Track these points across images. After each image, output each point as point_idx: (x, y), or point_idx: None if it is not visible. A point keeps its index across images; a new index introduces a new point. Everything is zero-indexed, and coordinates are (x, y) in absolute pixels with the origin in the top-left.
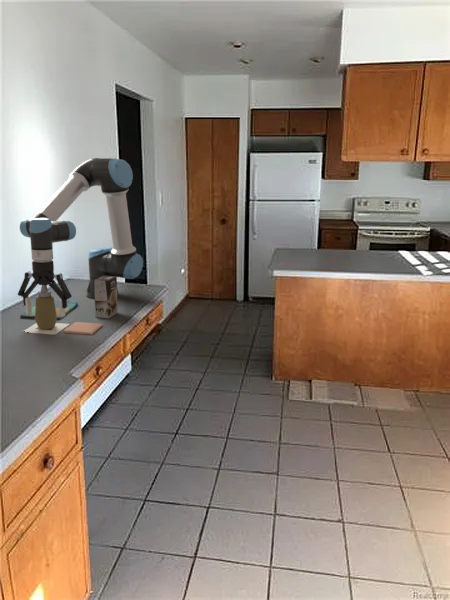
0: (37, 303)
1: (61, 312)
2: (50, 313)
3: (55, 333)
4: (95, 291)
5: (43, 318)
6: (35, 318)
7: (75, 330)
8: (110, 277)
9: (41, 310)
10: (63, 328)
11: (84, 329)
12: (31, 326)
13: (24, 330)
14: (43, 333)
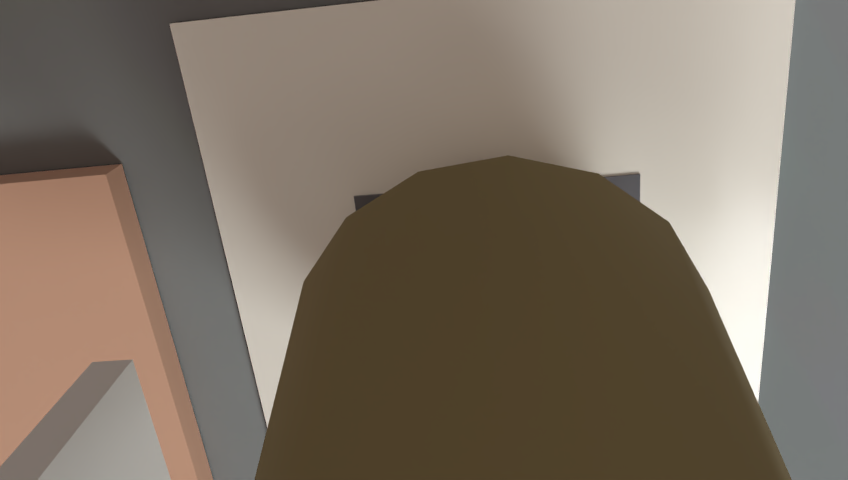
0: (682, 475)
1: (43, 429)
2: (296, 352)
3: (196, 70)
4: None
5: (429, 199)
6: (661, 228)
7: None
8: None
9: (477, 299)
10: (241, 316)
11: None
12: (759, 259)
13: (787, 39)
14: (378, 1)
